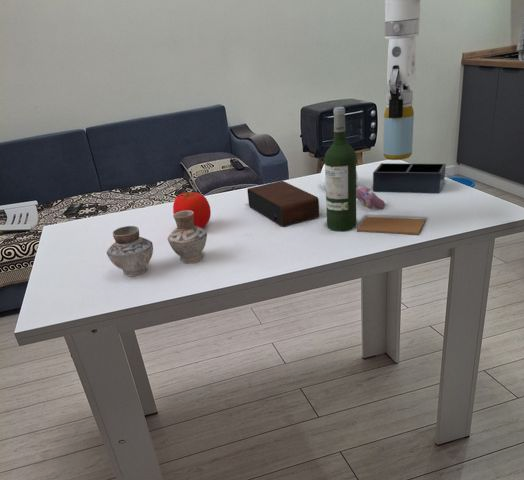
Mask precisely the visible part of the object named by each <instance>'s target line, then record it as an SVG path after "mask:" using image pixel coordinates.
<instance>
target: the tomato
mask: <svg viewBox="0 0 524 480" xmlns="http://www.w3.org/2000/svg"><path fill="white" fill-rule="evenodd" d="M185 210H189V211H193V212H194V216H193V220H194V225H195V226H198V227H200V228H202V229H204V228H205V227H206V226H207V225H208V223H209V222H210V219H211V217H212V216H211V215H212V214H211V213H212V211H211V206H210V203H209V200H208V199H207V197H205V195H204V194H202V193H199V192H198V191H197V192H196V191H195V192H194V191H187V192H183V193H180V194H178V195H176V197H175V199H174V201H173V205H172V212H173V213H172V214H173V215H174V214H175V213H177V212H180V211H185Z"/></svg>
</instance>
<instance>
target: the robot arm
mask: <svg viewBox="0 0 524 480" xmlns="http://www.w3.org/2000/svg"><path fill="white" fill-rule="evenodd" d="M384 9H385V10H384V40H388V46H387V66H386V67H387V68H386V82H387V83H386V85H387V86H388V88H389V92H390V94H389V118H401V117H402V116H403V99H402V93H403V90H411V88H410V87H411V86H410V85H411V84H413V83H414V81H415V80H416V75H417V74H416V71H417V70H416V69H417V68H416V67H417V66H416V65H417V64H416V63H417V61H416V60H417V44H416V43H417V42H416V37H418V36H419V35H420V17H421V16H420V15H421V0H384Z"/></svg>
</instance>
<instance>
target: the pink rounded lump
mask: <svg viewBox="0 0 524 480" xmlns="http://www.w3.org/2000/svg"><path fill="white" fill-rule="evenodd" d="M356 200H358V201H359V202H360V203H361V205H362V206H366V207H367V208H368V209H371V208H372V207H374V208H376V209H379V210H383V209H384V208H385V206H386V203H385V201H384V200H383V199H381V198H380V197H378V196H377V195H376V194H375V192H373V190H371V189H370V188H369V187H367V186H360V185H359V186H358V187H356Z"/></svg>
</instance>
